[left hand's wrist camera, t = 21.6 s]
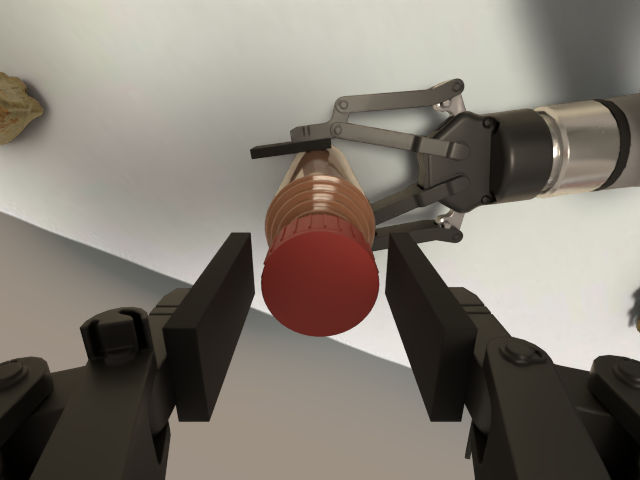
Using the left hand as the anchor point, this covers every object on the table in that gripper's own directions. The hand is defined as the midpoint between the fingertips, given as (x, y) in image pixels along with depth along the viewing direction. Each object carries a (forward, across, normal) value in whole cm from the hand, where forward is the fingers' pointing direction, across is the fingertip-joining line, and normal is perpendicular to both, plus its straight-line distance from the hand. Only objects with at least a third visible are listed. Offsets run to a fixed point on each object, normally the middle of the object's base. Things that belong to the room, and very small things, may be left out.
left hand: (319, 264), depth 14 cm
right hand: (+17, -5, -1) cm, 18 cm away
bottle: (+24, 0, 0) cm, 24 cm away
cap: (-2, 0, 0) cm, 2 cm away
